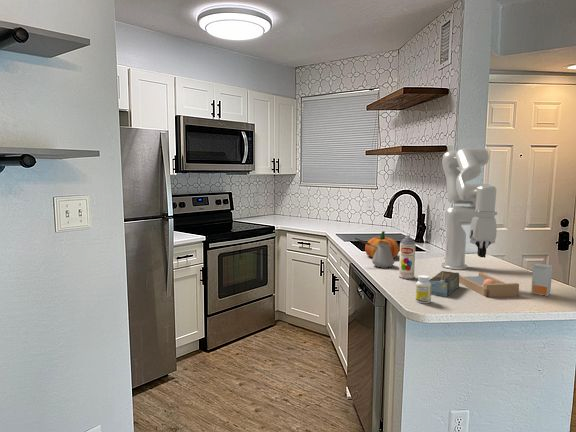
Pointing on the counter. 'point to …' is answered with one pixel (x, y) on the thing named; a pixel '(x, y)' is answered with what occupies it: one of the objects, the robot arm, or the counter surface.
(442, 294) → the beverage carton
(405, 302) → the counter surface
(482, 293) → the lane
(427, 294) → the supplement bottle
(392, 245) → the pumpkin
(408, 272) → the aerosol can
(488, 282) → the ball
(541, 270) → the skincare box
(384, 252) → the coffee pot
